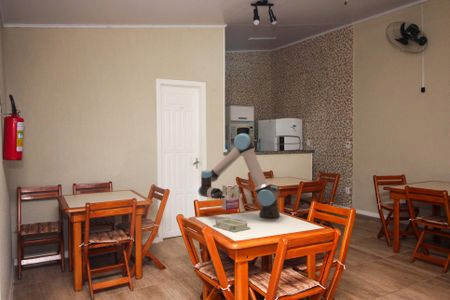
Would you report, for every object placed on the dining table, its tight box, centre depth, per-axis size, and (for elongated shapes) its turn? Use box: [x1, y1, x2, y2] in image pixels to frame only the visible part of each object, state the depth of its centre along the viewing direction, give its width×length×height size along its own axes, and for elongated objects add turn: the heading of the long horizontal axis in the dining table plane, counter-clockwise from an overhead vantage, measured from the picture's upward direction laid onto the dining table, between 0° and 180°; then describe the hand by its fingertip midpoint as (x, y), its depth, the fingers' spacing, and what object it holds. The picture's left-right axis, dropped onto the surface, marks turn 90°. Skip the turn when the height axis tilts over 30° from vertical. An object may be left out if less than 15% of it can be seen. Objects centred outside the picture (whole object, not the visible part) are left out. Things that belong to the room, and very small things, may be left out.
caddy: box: [212, 218, 251, 233], centre depth 224 cm, size 14×20×4 cm
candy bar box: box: [221, 184, 240, 211], centre depth 240 cm, size 11×5×16 cm, turn 126°
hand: (235, 196), depth 237 cm, fingers closed on candy bar box, 11 cm apart
